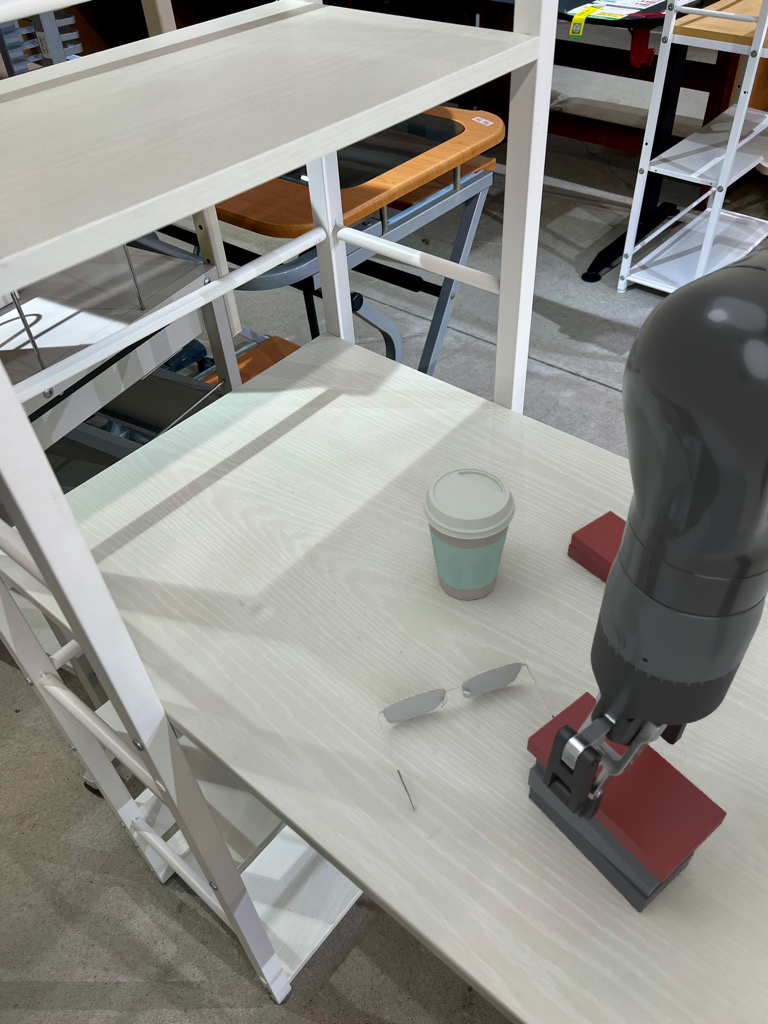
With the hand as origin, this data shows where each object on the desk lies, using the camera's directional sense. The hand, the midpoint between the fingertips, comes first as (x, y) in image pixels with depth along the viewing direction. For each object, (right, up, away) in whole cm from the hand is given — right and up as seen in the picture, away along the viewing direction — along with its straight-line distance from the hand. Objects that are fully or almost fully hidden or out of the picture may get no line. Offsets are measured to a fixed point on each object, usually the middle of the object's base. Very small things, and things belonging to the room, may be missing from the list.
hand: (623, 768), depth 51 cm
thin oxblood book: (0, -2, +1) cm, 2 cm away
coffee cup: (-8, +10, +26) cm, 29 cm away
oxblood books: (+9, +11, +25) cm, 29 cm away
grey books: (+1, -7, +6) cm, 9 cm away
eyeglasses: (-9, -2, +12) cm, 16 cm away
